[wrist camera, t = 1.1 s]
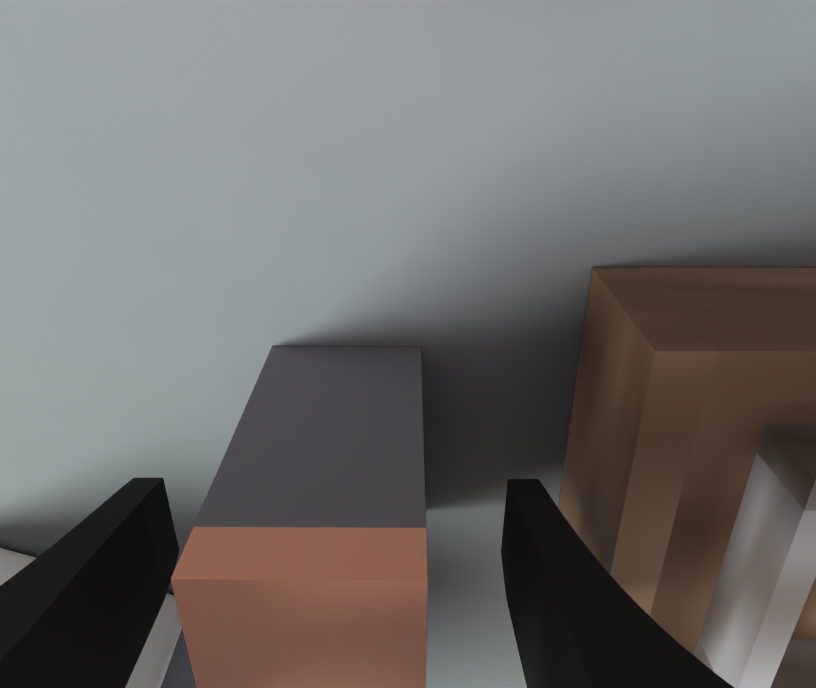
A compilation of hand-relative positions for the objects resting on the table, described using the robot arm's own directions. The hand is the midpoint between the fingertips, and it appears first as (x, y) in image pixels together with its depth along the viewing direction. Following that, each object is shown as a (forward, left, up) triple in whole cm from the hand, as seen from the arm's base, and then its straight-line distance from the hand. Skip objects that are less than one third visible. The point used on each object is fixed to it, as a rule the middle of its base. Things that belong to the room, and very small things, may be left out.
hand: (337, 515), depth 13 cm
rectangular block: (0, 0, -3) cm, 3 cm away
